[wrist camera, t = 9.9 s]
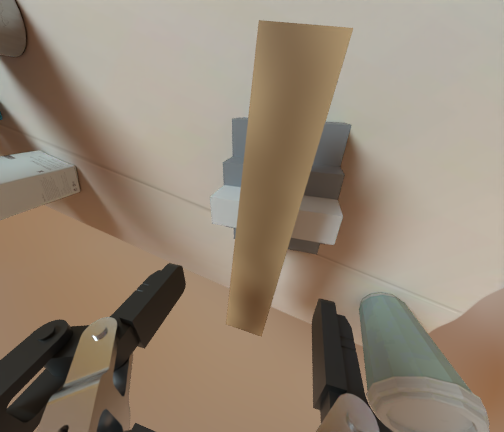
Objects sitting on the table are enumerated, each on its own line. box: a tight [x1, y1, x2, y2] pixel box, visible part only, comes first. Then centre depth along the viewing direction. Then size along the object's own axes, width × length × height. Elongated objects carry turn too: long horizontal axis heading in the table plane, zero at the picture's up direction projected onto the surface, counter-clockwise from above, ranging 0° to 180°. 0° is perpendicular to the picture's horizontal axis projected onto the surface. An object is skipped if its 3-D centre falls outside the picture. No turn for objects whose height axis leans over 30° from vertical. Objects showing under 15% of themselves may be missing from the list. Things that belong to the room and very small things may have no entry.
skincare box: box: [0, 151, 80, 220], centre depth 31 cm, size 8×6×15 cm
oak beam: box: [226, 20, 353, 336], centre depth 16 cm, size 4×24×4 cm, turn 172°
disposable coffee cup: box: [359, 293, 490, 432], centre depth 26 cm, size 11×11×15 cm
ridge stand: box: [210, 118, 351, 254], centre depth 22 cm, size 12×16×10 cm
